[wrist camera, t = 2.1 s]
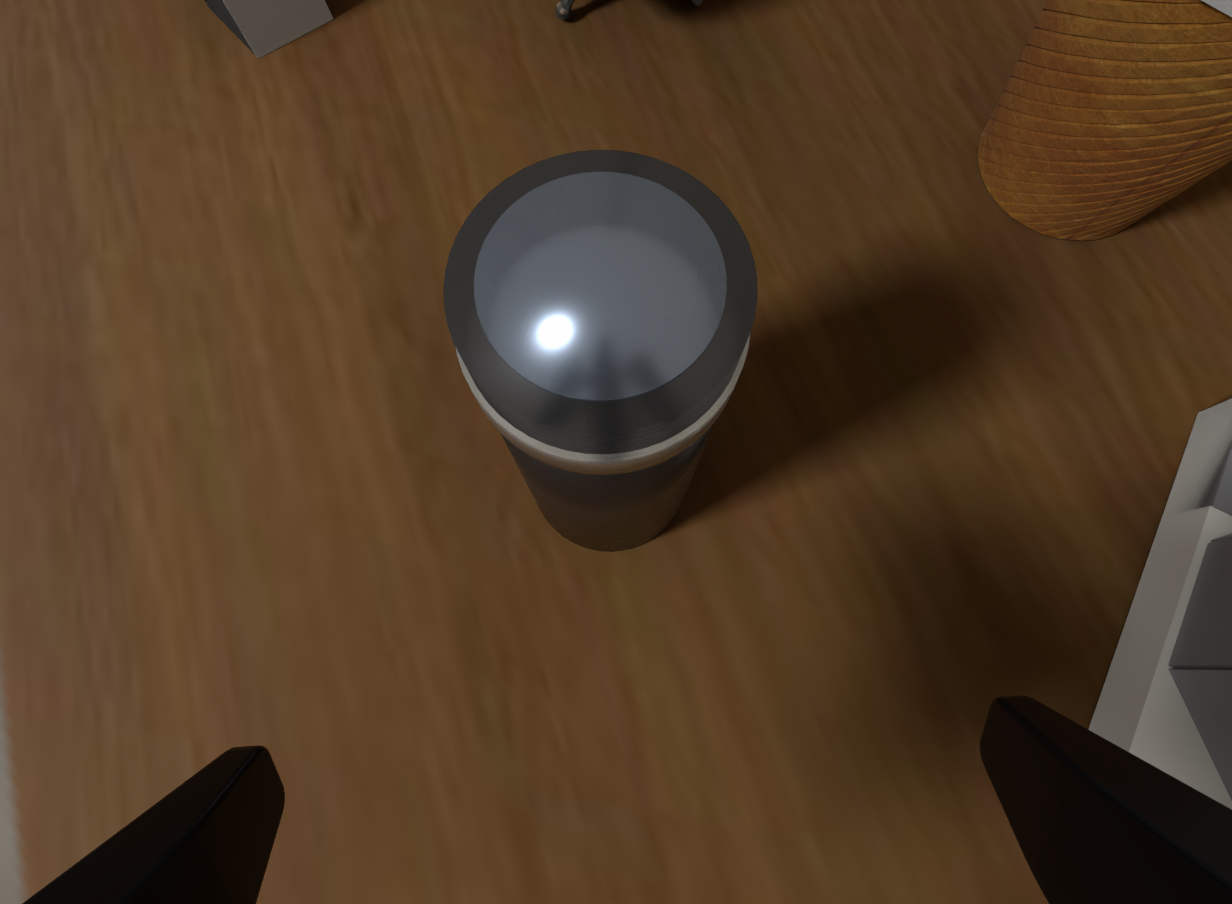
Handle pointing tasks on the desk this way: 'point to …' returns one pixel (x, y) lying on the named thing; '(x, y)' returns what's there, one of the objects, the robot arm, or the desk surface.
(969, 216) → the desk surface
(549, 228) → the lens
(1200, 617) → the octagonal ring on plate
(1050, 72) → the disposable coffee cup
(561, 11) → the alarm clock
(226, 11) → the padlock
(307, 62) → the desk surface
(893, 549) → the desk surface
